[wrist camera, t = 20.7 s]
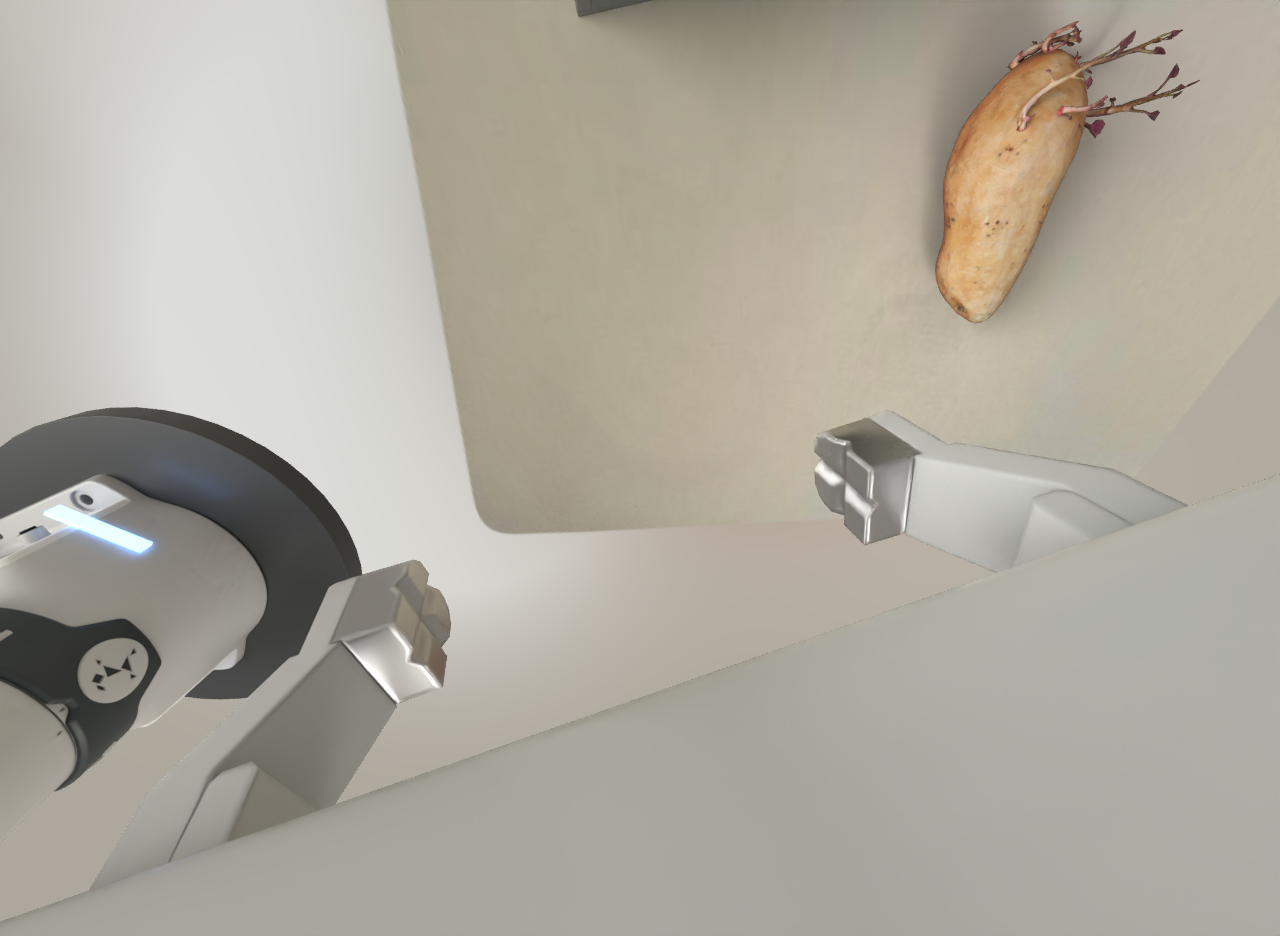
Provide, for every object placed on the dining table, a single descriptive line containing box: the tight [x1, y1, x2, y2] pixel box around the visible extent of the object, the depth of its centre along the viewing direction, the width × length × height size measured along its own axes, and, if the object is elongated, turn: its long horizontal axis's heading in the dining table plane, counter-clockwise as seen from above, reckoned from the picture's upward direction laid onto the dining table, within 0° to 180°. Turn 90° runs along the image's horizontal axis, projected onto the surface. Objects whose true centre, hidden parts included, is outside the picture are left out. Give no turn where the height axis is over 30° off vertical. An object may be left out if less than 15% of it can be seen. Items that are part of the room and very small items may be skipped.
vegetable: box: [935, 21, 1200, 323], centre depth 29 cm, size 16×11×10 cm
